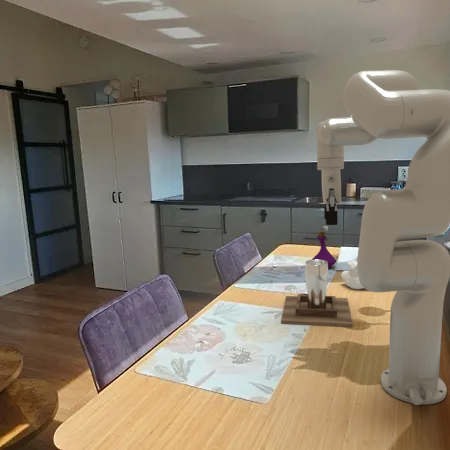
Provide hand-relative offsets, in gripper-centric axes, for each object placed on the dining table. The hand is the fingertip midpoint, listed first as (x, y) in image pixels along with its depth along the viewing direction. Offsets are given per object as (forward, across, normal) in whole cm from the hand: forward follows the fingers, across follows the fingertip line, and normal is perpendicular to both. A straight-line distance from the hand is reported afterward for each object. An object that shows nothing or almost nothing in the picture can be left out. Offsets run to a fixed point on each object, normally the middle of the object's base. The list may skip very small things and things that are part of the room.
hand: (330, 221), depth 121 cm
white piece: (+27, -1, +4) cm, 28 cm away
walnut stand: (+28, -1, +4) cm, 29 cm away
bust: (+28, +22, -10) cm, 37 cm away
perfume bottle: (+28, +46, 0) cm, 54 cm away
